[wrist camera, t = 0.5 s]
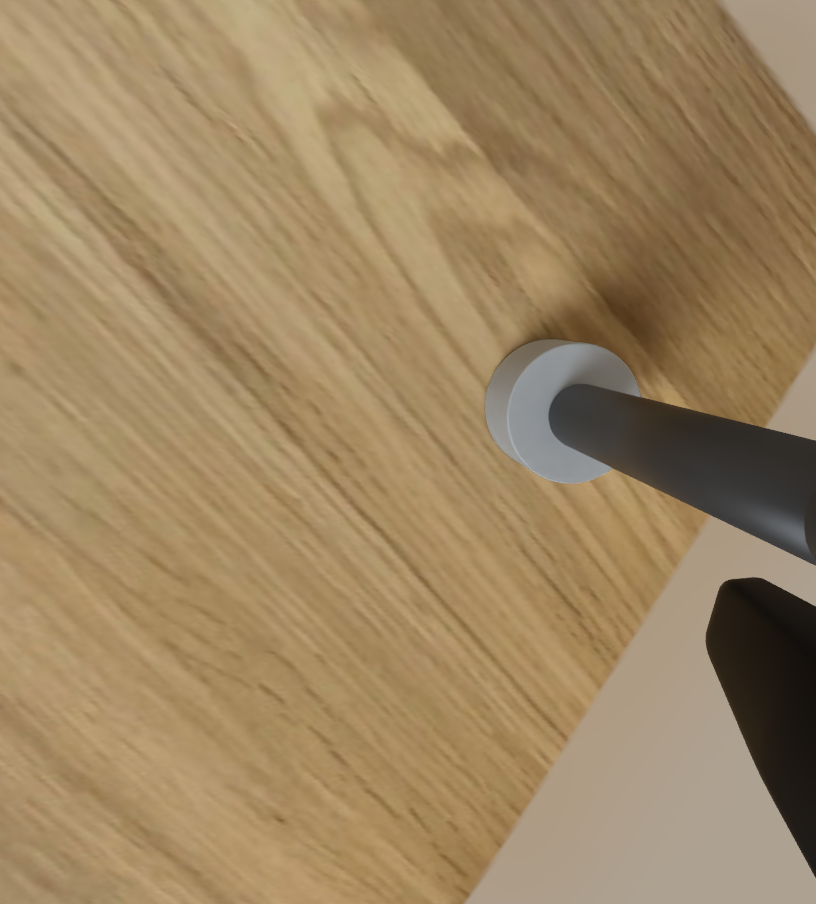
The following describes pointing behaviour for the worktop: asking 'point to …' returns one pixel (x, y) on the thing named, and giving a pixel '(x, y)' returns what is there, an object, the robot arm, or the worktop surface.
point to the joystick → (650, 442)
